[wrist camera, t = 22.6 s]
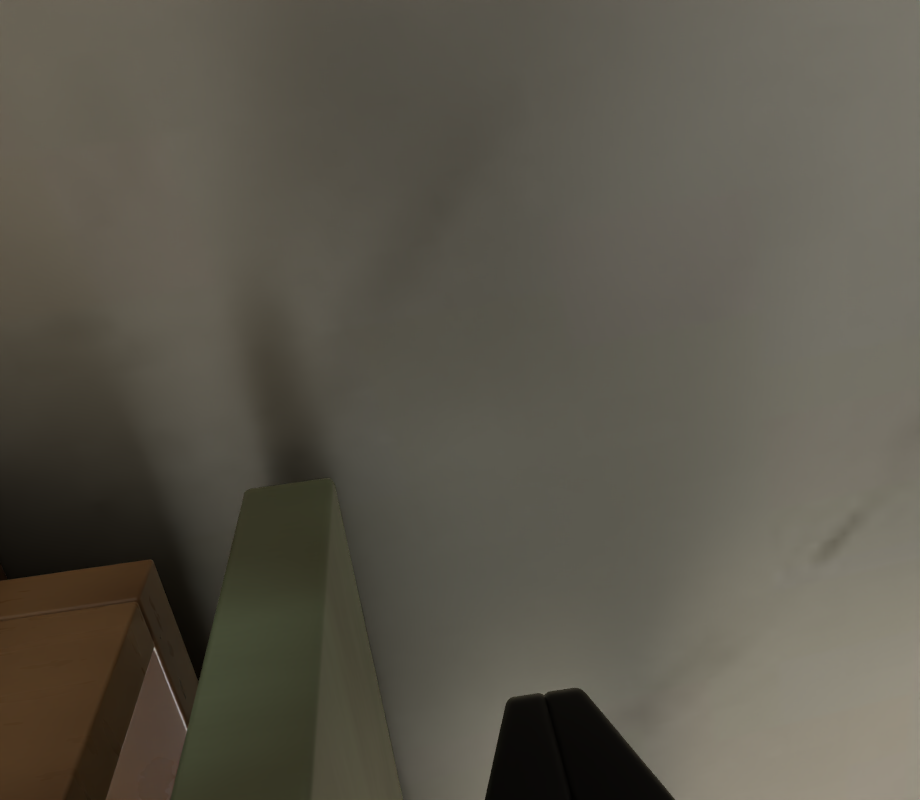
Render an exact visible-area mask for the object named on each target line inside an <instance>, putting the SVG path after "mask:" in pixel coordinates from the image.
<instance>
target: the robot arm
mask: <svg viewBox="0 0 920 800" xmlns="http://www.w3.org/2000/svg"><path fill="white" fill-rule="evenodd" d="M485 800H675V799H674V798H673V796H672V795H671V794H670V793H669V792H668V791H667V789H666V788H665V787H664V786H663V785H662V783H661V782H660V781H659V780H658V779H657V777H656V776H655V775H654V774H653V773H652V771H651V770H650V769H649V768H648V767H647V766H646V764H645V763H644V762H643V761H642V760H641V758H640V757H639V756H638V755H637V754H636V752H635V751H634V750H633V749H632V748H631V746H630V745H629V744H628V743H627V742H626V740H625V739H624V738H623V737H622V736H621V735H620V733H619V732H618V731H617V730H616V729H615V727H614V726H613V725H612V724H611V723H610V721H609V720H608V719H607V718H606V717H605V715H604V714H603V713H602V712H601V711H600V709H599V708H598V707H597V706H596V705H595V704H594V702H593V701H592V700H591V699H590V698H589V696H588V695H587V694H586V693H585V692H584V691H583V690H581V689H579V688H570V689H564V690H557V691H550V692H547V693H546V694H545V695H543V694H540V693H537V694H530V695H523V696H517V697H512V698H510V699H509V700H508V701H507V703H506V706H505V710H504V715H503V719H502V724H501V728H500V733H499V737H498V742H497V747H496V751H495V756H494V760H493V765H492V769H491V774H490V779H489V783H488V788H487V792H486V797H485Z"/></svg>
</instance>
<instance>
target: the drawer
mask: <svg viewBox="0 0 920 800" xmlns="http://www.w3.org/2000/svg"><path fill="white" fill-rule="evenodd" d="M0 800H403V797H402V792H401V788H400V783H399V778H398V774H397V769H396V765H395V760H394V755H393V751H392V746H391V742H390V737H389V732H388V728H387V723H386V719H385V714H384V709H383V705H382V700H381V696H380V691H379V686H378V682H377V677H376V673H375V668H374V663H373V659H372V654H371V650H370V645H369V640H368V636H367V631H366V627H365V622H364V617H363V613H362V608H361V604H360V599H359V594H358V590H357V585H356V581H355V576H354V571H353V567H352V562H351V558H350V553H349V548H348V544H347V539H346V535H345V530H344V525H343V521H342V516H341V512H340V507H339V502H338V498H337V493H336V489H335V484H334V483H333V481H332V480H331V479H330V478H323V479H316V480H309V481H302V482H295V483H288V484H281V485H273V486H266V487H259V488H252V489H249V490H246V491H245V492H244V496H243V501H242V505H241V509H240V513H239V517H238V521H237V525H236V530H235V534H234V538H233V542H232V546H231V550H230V554H229V559H228V563H227V567H226V571H225V575H224V579H223V583H222V588H221V592H220V596H219V600H218V604H217V608H216V612H215V617H214V621H213V625H212V629H211V633H210V637H209V641H208V646H207V650H206V654H205V658H204V662H203V666H202V670H201V675H200V679H199V682H198V680H197V677H196V674H195V672H194V669H193V666H192V664H191V661H190V658H189V656H188V653H187V650H186V648H185V645H184V642H183V640H182V637H181V634H180V631H179V629H178V626H177V623H176V621H175V618H174V615H173V613H172V610H171V607H170V605H169V602H168V599H167V597H166V594H165V591H164V589H163V586H162V583H161V580H160V578H159V575H158V572H157V570H156V567H155V564H154V562H153V560H150V559H148V560H142V561H135V562H128V563H121V564H114V565H107V566H100V567H93V568H86V569H79V570H72V571H65V572H58V573H51V574H44V575H37V576H30V577H23V578H16V579H9V580H2V581H0Z"/></svg>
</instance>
